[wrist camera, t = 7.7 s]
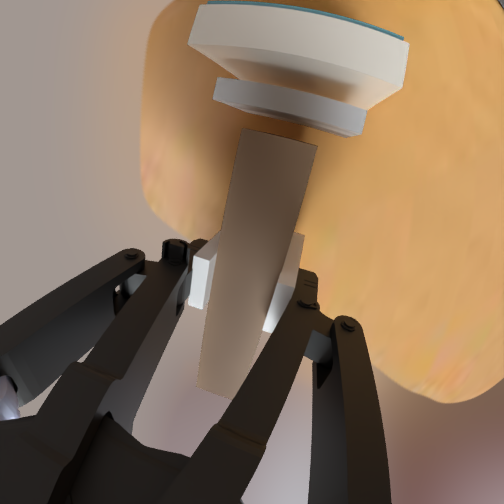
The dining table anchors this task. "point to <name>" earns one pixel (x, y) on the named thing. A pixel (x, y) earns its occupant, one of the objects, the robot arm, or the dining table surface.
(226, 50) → the tile
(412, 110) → the dining table surface
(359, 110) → the scraper
